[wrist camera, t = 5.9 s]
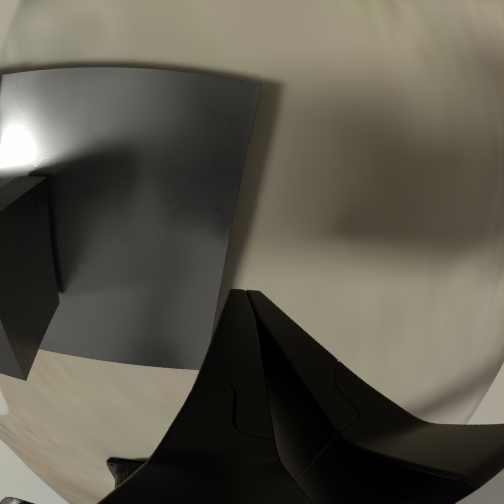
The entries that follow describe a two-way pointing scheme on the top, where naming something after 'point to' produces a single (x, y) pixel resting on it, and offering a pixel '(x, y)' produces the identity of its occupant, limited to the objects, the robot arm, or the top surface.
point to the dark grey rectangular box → (25, 273)
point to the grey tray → (131, 201)
